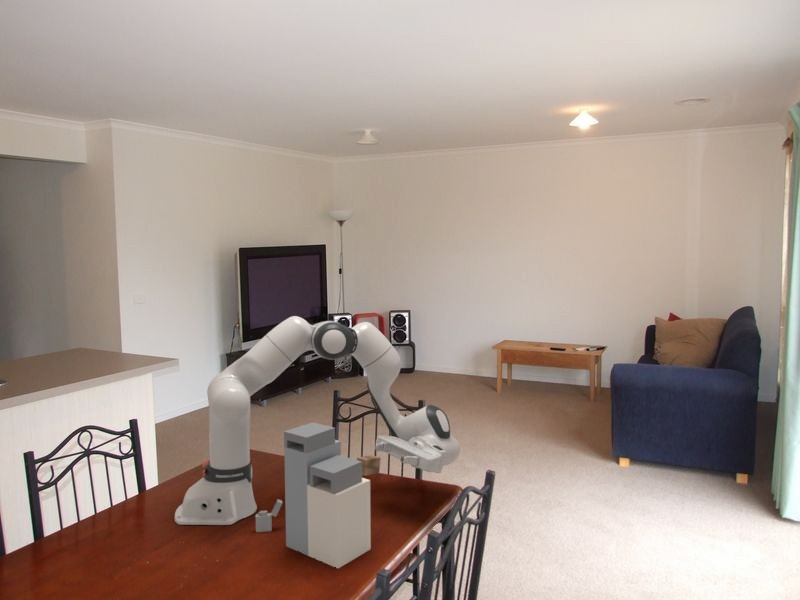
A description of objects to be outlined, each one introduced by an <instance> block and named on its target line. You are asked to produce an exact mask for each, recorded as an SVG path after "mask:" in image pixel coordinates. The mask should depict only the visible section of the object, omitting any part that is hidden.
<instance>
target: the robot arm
mask: <svg viewBox="0 0 800 600" xmlns="http://www.w3.org/2000/svg"><path fill="white" fill-rule="evenodd" d="M308 351H313V352H314V353H315V354H316V355H318V356H319V357H320V358H322V359H325V360H329V361H333V360H334V361H335V360H339V359H341V358H344V357H346V356H348V355H351V356H352V357H353V358H355V360H356V361H357V362H358V364H359V365H360V366H361V368H362V369H363V371H364V373H365V374H366V377H367V382H366V387H367V391H368V394H369V395H370V398H371V400H372V401H373V403H374V405H375V407H376V408H377V410H378V412H379V415H380V416H381V418H382V420H383V421H384V423H385V425H386V427H387V429H388V432H389V434H390V435H378V436H377V437H376V440H375V448H374V450H375V451H377V452H380V453H381V452H383V453H386V454H388V455H391V456H393V457H395V458H397V459H399V460H400V462H401V463H402V464H404V465H405V464H406V465H408V464H409V465H410V466H411V467H412V468H415V469H420V470H422V471H424V472H427V473H436V474H442V471H443V468H444V466H445V467H446V466H448V465H450V464H453V463H454V462H455V461H456V460H457V459H458V458H459V455H460V453H461V449H460V447H461V446H460V444H459V441H458V440H457V439H456V437H454V436H453V435H452V434H451V426H450V421H449V419H448V418H449V417H448V416H447V414H446V413H445V411H444V410H442V409H441V408H440V407H438V406H437V405H434V404H428V405H426V406H424V407H422V408H420V409H418V410H416V411H415V412H412V413H411V414H408V415H407V416H405V415H404V416H403V415H402V414H401V412H400V410H399V409H398V407H397V405H396V403H395V401H394V400H393V398H392V396H391V392H390V389H391V386H392V385H393V383H394V382H395V380H396V379H397V377H398V376H399V374H400V372H401V368H402V358H401V356H400V354H399V353H398V351H397V350H396V348H395V347H394V346H393V345H392V343H391V342H390V340H389V339H388V338H387V337H386V336H385V335H384V334H383V333H382V332H381V331H380V330H379V329H378V328H377V326H375V325H374V324H372V323H371V322H369V321H362V322H359V323H357V324H355V325H354V326H353V327H349V326H346V325H345V324H342V323H340V322H338V321H334V320H325V321H324V320H323V321H320V322H315V323H312V324H311V323H309V322H308V321H307V320H306V319H304V318H302V317H300V316H297V315H292V316H290V317H287V318H286V319H285V320H283V321H281V322H280V323H279V324H278V325H276V326H274V327H273V328H272V329H271V330H270V331H268V332H267V333H266V334H265V335H264V336H263V337H262V338H261V339H259V341H257V343H255V345H253V346H252V347H251V348H250V349H249V350H248V351H246V353H244V354H243V355H242V356H241V357H240V358H238V359H236V360H235V361H233V363H231V364H230V365H228V366H227V367H225V368H224V369H223V370H222V371H221V372H220V373H219V374H218V375H216V376H215V377H213V378H212V380H210V383H208V386H207V391H206V392H207V402H208V416H209V417H208V425H209V426H208V428H209V430H208V431H209V432H208V433H209V434H208V439H209V440H208V441H209V447H208V448H209V461H208V460H205V461H204V462H203V464H202V477H201V478H200V479H199V480H197V482H195V483H194V484H193V485H192V486H190V487H189V488H188V489H187V490H186V492H185V494H184V498H183V501H182V503H181V504H180V505H179V506H178V507H177V508H176V510H175V513H174V522H175V523H176V524H177V525H183V526H185V525H188V526H189V525H191V526H194V525H195V526H196V525H197V526H198V525H200V526H201V525H208V526H212V525H213V526H225V525H226V526H230V525H233V524H235V523H237V522H238V521H240V520H242V519H246V518H247V517H249V516H251V515H253V514H255V513H256V511H257V509H258V506H257V503H256V500H255V497H254V492H253V491H254V490H253V485H252V480H253V465H252V460H251V456H250V455H251V454H250V453H251V451H250V450H251V449H250V430H251V429H250V428H251V427H250V426H251V397H252V396H253V395H254V394H255V393H256V392H258V391H259V390H261V389H262V388H264V387H266V385H268V384H271V383H272V382H273V381H275V380H276V379H277V378H278V377H279V376H280V375H281V374H282V373H283V372H284V371H286V369H288V368H289V366H291V365H292V363H293V362H294V361H296V360H297V359H298V358H299V357H300V356H301V355H303V354H304V353H306V352H308Z"/></svg>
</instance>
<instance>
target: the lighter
mask: <svg viewBox="0 0 800 600" xmlns="http://www.w3.org/2000/svg"><path fill="white" fill-rule="evenodd" d="M282 505H283V500H282V499H278V498H277V499H276V502H275V503H274V506H273V508H272V510H271V512H268V510H260V511H259V512H258V513H256V514H255V533H256V534H257V532H258V533H265V532H272V530H273V528H272V527H273V525H272V522H273V521H272V519H273V518H272V517H277V515H278V514H279V511H280V510H281V507H282Z"/></svg>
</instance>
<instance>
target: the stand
mask: <svg viewBox="0 0 800 600" xmlns="http://www.w3.org/2000/svg"><path fill="white" fill-rule="evenodd" d="M341 442H342V441H341V440H338V439H336V427H333V426H330V425H329V426H328V425H324V424H321V423H317V422H309V423H307V424H302V425H300V426H297V427H294V428H291V429H290V428H289V429H288V430H285V431H284V430H283V443H284V444H283V445H284V446H283V448H284V451H283V452H284V453H283V454H284V493H285V494H284V496H285V497H284V499H285V500H284V501H285V503H284V504H285V506H284V507H285V544H286V545H285V546H286V548H289V549H291V550H294V551H295V552H298V551H299V552H298V553H300V552H301V554H303V555H306V556H307V557H310V558H312V559H314V558H315V559H314V560H317V561H319V562H321V561H322V562H321V563H323V564H327V565H328V566H331V567H333V568H335V567H336V569H340V568H342V567H343V566H345V565H346V564H348V563H350V562H352V561H353V560H355V559H357V558H358V557H360V556H362V555H363V554H366V552H368V551H370V550H371V549H372V548H371V547H372V546H371V544H372V543H371V541H372V539H371V537H372V536H371V535H372V534H371V533H372V532H371V522H372V521H371V520H372V519H371V518H372V517H371V479H367V478H365V477H363V475H362V462H361V461H358V460H357V459H354V458H350V457H348V456H347V457H346V456H343V455H342V452H341V451H342V449H341V448H342V447H341V446H342V445H341V444H342V443H341Z"/></svg>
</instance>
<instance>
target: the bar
mask: <svg viewBox="0 0 800 600" xmlns="http://www.w3.org/2000/svg"><path fill="white" fill-rule="evenodd" d="M356 458H357V459H356V460H358V461H361V462H362V476H369V475H375V474H379V473H380V467H381V459H382V458H381V456H380V457H379V456H376V455H371V454H370V455H365V456H360V457H359V456H358V457H356Z"/></svg>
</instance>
